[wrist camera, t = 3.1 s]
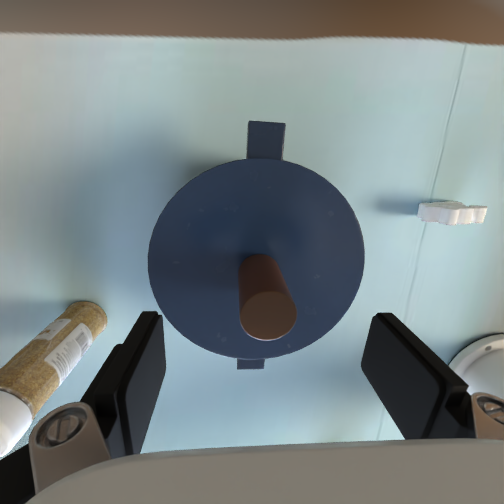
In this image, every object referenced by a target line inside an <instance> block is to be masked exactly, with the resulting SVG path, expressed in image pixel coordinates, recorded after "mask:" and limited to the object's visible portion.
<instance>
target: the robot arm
mask: <svg viewBox="0 0 504 504" xmlns="http://www.w3.org/2000/svg"><path fill="white" fill-rule="evenodd" d="M361 368H362V371H363V373H364V374H365V376H366V377H367V379H368V381H369V382H370V384H371V385H372V387H373V389H374V390H375V392H376V393H377V395H378V397H379V398H380V400H381V401H382V403H383V405H384V406H385V408H386V409H387V411H388V413H389V414H390V416H391V417H392V419H393V421H394V422H395V424H396V425H397V427H398V429H399V430H400V432H401V433H402V435H403V437H404V438H405V440H384V441H357V442H332V443H309V444H286V445H265V446H244V447H224V448H205V449H190V450H175V451H160V452H152V453H143V454H140V452H141V449H142V445H143V442H144V439H145V436H146V433H147V430H148V426H149V423H150V420H151V417H152V414H153V410H154V407H155V404H156V401H157V398H158V395H159V391H160V388H161V385H162V382H163V379H164V376H165V371H166V358H165V345H164V331H163V318H162V315H158V312H157V311H143V312H142V313H141V314H140V316H139V318H138V319H137V321H136V323H135V324H134V326H133V328H132V329H131V331H130V333H129V334H128V336H127V338H126V339H125V341H124V343H123V344H117V345H116V346H115V347H114V348H113V350H112V351H111V353H110V354H109V356H108V358H107V359H106V361H105V362H104V364H103V365H102V367H101V369H100V370H99V372H98V373H97V375H96V376H95V378H94V380H93V381H92V383H91V384H90V386H89V388H88V389H87V391H86V392H85V394H84V395H83V397H82V399H81V400H80V402H73V403H68V404H65V405H63V406H60V407H58V408H56V409H54V410H53V411H51V412H49V413H48V414H47V415H46V416H44V417H43V418H42V419H41V420H40V421H39V422H38V423H37V424H36V426H35V427H34V428H33V430H32V432H31V434H30V436H29V443H28V444H27V445H25V446H23V447H22V448H20V449H18V450H17V451H15V452H13V453H12V454H10V455H8V456H6V457H5V458H3V459H1V460H0V504H504V334H499V335H493V336H489V337H486V338H483V339H480V340H478V341H476V342H474V343H472V344H471V345H469V346H467V347H466V348H465V349H463V350H462V351H461V352H460V353H458V355H457V356H456V357H455V358H454V359H453V360H452V362H451V363H450V364H449V366H448V365H447V364H446V363H445V362H444V361H442V360H441V359H440V358H439V357H438V356H437V355H436V354H435V353H434V352H433V351H432V350H431V349H430V348H429V347H428V346H427V345H425V344H424V343H423V342H422V341H421V340H420V339H419V338H418V337H417V336H416V335H415V334H414V333H413V332H412V331H411V330H410V329H409V328H407V327H406V326H405V325H404V324H403V323H402V322H401V321H400V320H399V319H398V318H397V317H396V316H395V315H394V314H392V313H377V314H376V316H374V317H373V318H372V321H371V325H370V329H369V333H368V337H367V341H366V345H365V349H364V353H363V357H362V361H361Z"/></svg>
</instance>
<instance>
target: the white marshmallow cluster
mask: <svg viewBox="0 0 504 504" xmlns="http://www.w3.org/2000/svg"><path fill="white" fill-rule="evenodd" d="M486 210H487V206H478V205H470V206H469V207H468V206H466V205H464V204H463V203H460V202H457V201H445V202H432V203H420V204H419V209H418V214H417V217H418V218H421V221H424V222H438V223H441V224H445V225H456V224H470V222H471V223H483V221H484V218H485V214H486Z"/></svg>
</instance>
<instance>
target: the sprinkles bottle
mask: <svg viewBox="0 0 504 504" xmlns="http://www.w3.org/2000/svg"><path fill="white" fill-rule="evenodd" d="M106 326H107V316H106V314H105V312H104V311H103V309H102V308H100V307H99V306H98V305H96V304H94V303H91V302H86V301H84V302H76V303H74V304H72V305H70V306H69V307H68V308H67V309H66V311H65V312H64V313H63V314H61V315H60V316H59V317H58V318H57V319H56V320H55V321H54V322H52V323H50V324H49V325H48V326H47V327H46V328H45V329H44V330H43V331H42V332H40V333H39V334H38V335H37V336H36V337H35V338H34V339H33V340H32V341H30V342H29V343H28V344H27V345H26V346H25V347H24V348H22V349H21V350H20V351H19V352H18V353H17V354H16V355H15V356H14V357H12V359H11V360H10V361H9V362H8V363H7V364H6V365H5V366H3V367H2V368H1V369H0V457H2V456H4V455H5V454H7V453H8V452H9V451H10V450H11V449H12V448H13V447H14V446H15V444H16V443H17V442H18V441H19V440H20V438H21V437H22V436H23V434H24V433H25V432H26V431H27V429H28V428H29V427H30V425H31V422H32V420H33V419H34V417H35V415H36V414H37V413H38V411H39V410H40V409H41V407H42V406H43V405H44V404H45V402H46V401H47V400H48V399H49V397H50V396H51V395H52V394H53V392H55V391H56V390H57V389H58V387H59V386H60V385H61V384H62V382H63V381H64V380H65V378H66V377H67V376H68V375H69V373H70V372H71V371H72V369H73V368H74V367H75V366H76V364H77V363H78V362H79V360H80V359H81V358H82V356H83V355H84V354H85V353H86V351H87V350H88V349H89V347H90V346H91V344H92V342H93V341H94V340H95V339H96V337H97V336H98V335H99V334H100V333H101V332H102V331H103V330H104V329H105V328H106Z"/></svg>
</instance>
